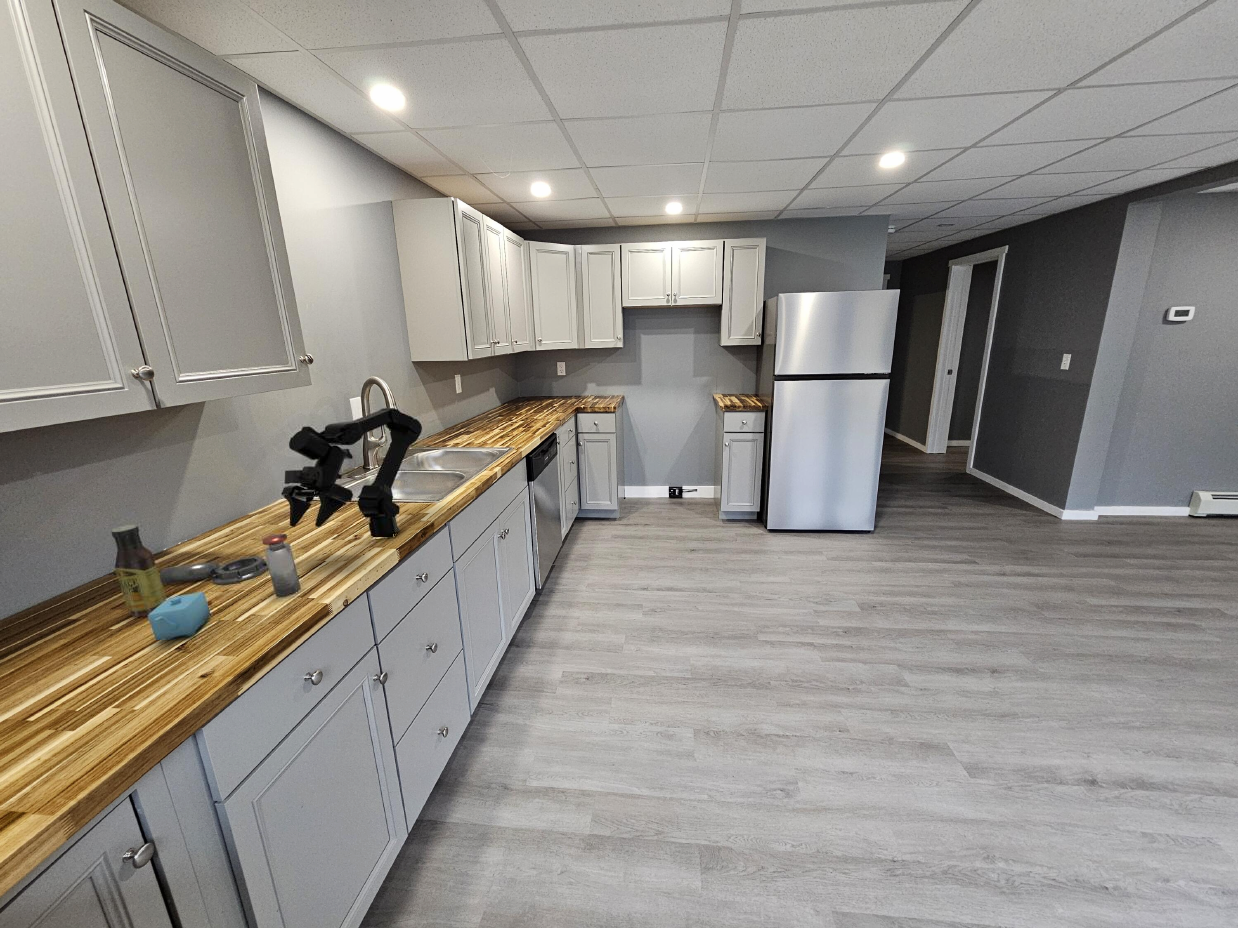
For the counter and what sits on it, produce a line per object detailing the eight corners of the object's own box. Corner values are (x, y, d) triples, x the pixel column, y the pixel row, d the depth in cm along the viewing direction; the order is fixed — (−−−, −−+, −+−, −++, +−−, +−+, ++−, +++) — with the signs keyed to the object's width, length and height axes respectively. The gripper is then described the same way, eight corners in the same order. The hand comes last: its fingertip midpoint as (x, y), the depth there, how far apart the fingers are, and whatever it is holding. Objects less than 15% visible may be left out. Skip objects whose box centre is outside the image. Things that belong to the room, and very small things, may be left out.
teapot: (184, 647, 93) (173, 612, 91) (146, 654, 92) (134, 619, 90) (215, 615, 104) (206, 583, 102) (182, 621, 103) (171, 589, 101)
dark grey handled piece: (279, 560, 131) (275, 546, 130) (256, 580, 119) (252, 565, 118) (183, 572, 127) (179, 558, 126) (150, 594, 115) (145, 579, 114)
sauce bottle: (123, 616, 106) (93, 532, 101) (157, 602, 112) (130, 521, 107) (143, 620, 104) (113, 534, 99) (176, 604, 110) (149, 523, 105)
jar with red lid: (289, 585, 116) (275, 533, 112) (306, 586, 115) (292, 533, 111) (270, 596, 111) (255, 541, 108) (287, 597, 110) (273, 542, 106)
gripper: (273, 456, 121) (247, 515, 115) (325, 452, 114) (299, 515, 108) (313, 473, 130) (291, 529, 124) (363, 471, 123) (341, 530, 117)
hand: (304, 526), depth 118 cm, fingers open, 9 cm apart
